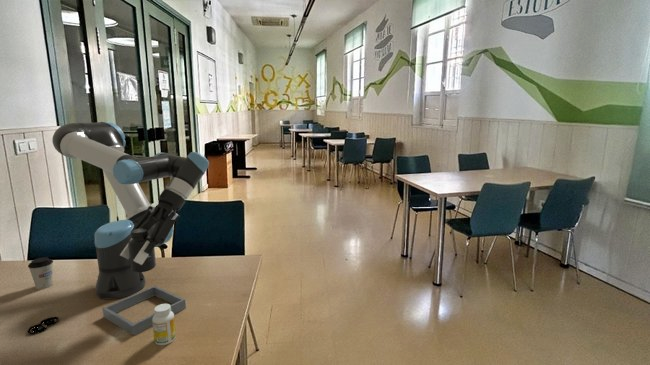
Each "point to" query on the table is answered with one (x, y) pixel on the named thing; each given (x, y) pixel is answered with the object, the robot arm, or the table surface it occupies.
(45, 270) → the coffee cup
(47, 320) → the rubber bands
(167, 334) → the supplement bottle
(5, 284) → the table surface
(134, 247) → the supplement bottle
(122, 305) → the square frame
